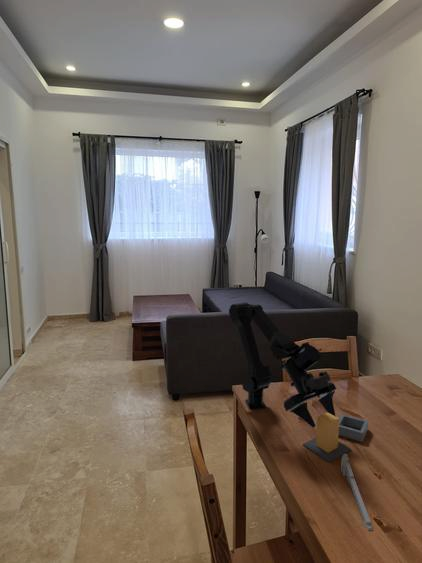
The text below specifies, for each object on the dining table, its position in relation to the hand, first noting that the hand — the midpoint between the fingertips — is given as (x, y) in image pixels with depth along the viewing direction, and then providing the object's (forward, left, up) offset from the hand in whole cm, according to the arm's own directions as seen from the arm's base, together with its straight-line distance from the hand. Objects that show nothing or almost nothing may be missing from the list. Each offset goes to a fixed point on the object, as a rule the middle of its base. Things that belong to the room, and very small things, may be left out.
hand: (324, 422), depth 115 cm
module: (+1, +1, -7) cm, 7 cm away
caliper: (+22, -2, -8) cm, 23 cm away
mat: (+1, +1, -8) cm, 8 cm away
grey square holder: (-6, +13, -8) cm, 16 cm away
